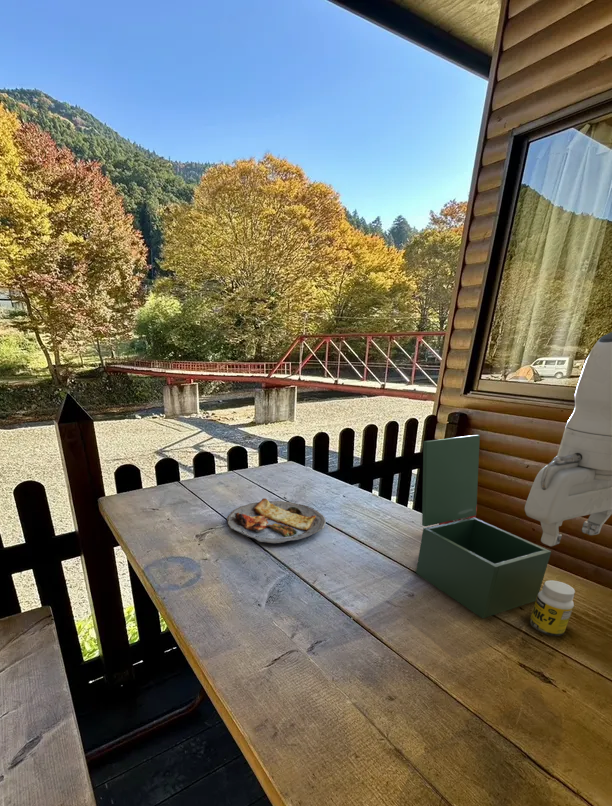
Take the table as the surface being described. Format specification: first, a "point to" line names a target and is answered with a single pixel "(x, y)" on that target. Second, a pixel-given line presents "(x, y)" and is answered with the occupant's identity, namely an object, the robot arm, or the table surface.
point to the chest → (482, 565)
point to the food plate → (276, 519)
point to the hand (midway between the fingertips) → (570, 538)
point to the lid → (450, 479)
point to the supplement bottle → (553, 608)
